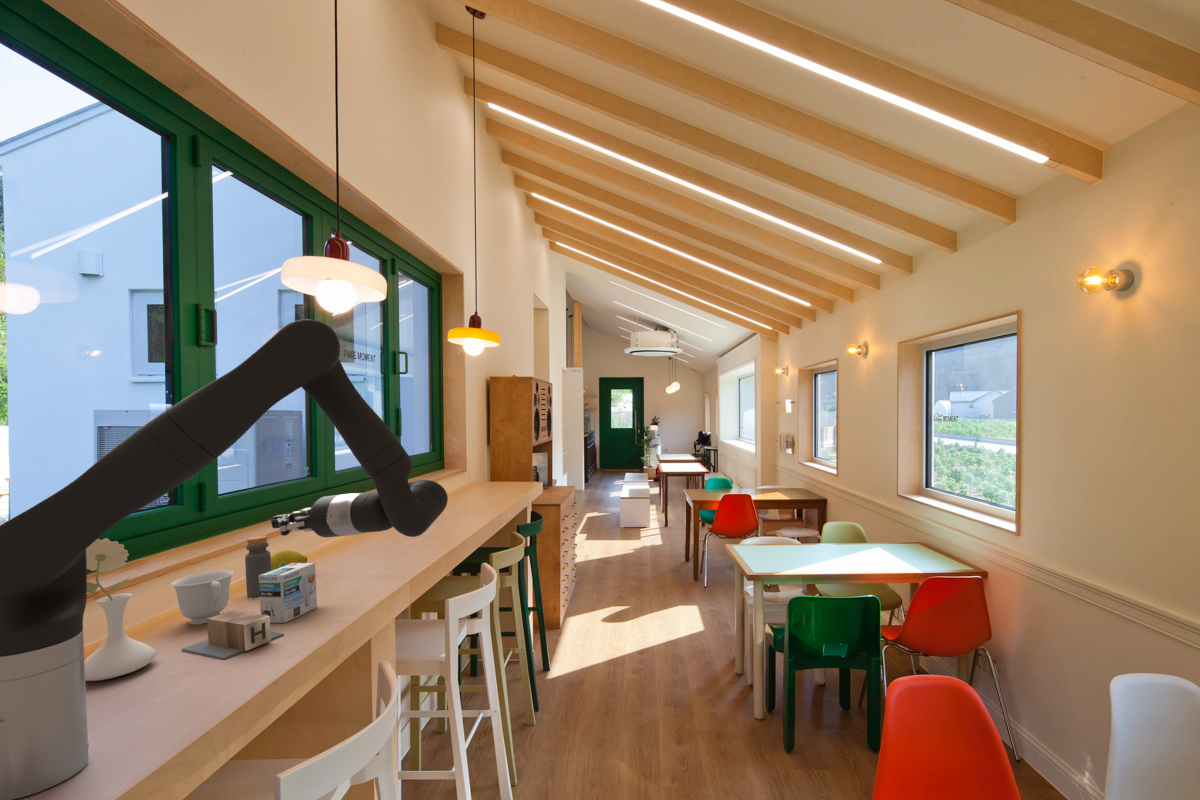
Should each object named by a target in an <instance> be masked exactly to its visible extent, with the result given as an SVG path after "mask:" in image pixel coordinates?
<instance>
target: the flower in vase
mask: <svg viewBox="0 0 1200 800" xmlns="http://www.w3.org/2000/svg"><path fill="white" fill-rule="evenodd" d="M119 543H120V542H119V541H117V540H114V541H112V540H111V541H110V539H109V538H107V537H106V538H103V539H100V538H98V539H97V540H96V541H94V542H93V543H92V544H91V545H90V546H89V547H88V548H86V560H87V570H89V571H92V572H94V571H95V582H96V583H95V582H90V581H89V582H88V581H87V594H93V593H95V592H96V591H97V589H98V588H99V589H100V590H101V591H102V592H103V593H104V594H105V595H106V596H105V597H102V598H99V599H97V600H96V603H97V604H98V605H99V606H100V607H101V609H102V610H103V612H104V613H105V614H104V615H105V618H106V624H107V636H106V639H105V640H104V642H103V643H102V644H101V645H100V646H99V647H98V648H97V649H96V650H95V651H93V653H91V655H89V656H88V657H87V658H86V659H84V662H85V682H87V681H89V682H95V681H104V680H110V679H113V678H116V677H117V678H118V677H120V676H125V675H127V674H131V673H133V672H136V671H137V670H140V669H142V668H143V667H145V666H147V665H148V664H150V663H152V661H154V659H155V658H156V656H157V652H156V650H155V648H154V647H152V646H150V645H149V644H146V643H144V642H141V641H138V640H135V639H133V638H130V637H129V636H128V635H127V634H126V632H125V627H124V615H125V610H126V606H127V603H128V601H129V600H130V598H131V597H132V595H133V594H132V593H129V592H128V593H119V594H114V595H110V593H109V592H112V591H114V590H116V589H118V588H119V587H122V586H123V585H124V584H125V583H126V582H127V581H128V580H129V578H130V577H131V576H128V577H127V578H125V579H123V580H121V581H118V582H117V583H115V584H114V585H113V586H112V587H110V588H109V589H108V591H107V590H106V589H105V588H104V587H103V586H102V585H101V584H100V581H99V572H100V573H104V572H112V571H113V570H117V569H120V567H123V566H125V565H126V564H127V562H126V561H128V557H129V556H130V554H129V550H127V549H125V548H124V547H125V545H124V544H123V543H121V544H119Z"/></svg>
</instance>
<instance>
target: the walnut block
mask: <svg viewBox="0 0 1200 800" xmlns="http://www.w3.org/2000/svg"><path fill="white" fill-rule="evenodd" d="M206 624H207V639H208V644H213V645H218V646H223V647H229V648H234V649H239V650H244V651H245V652H247V651H250V650H251V649H254V648H257V647H259V646H261V645H264V644H266V643H268V642H271V641H272V640H271V623H270V616H267V615H261V613H260V614H258V613H252V612H245V611H239V610H229V611H227V612H223V613H221V614H220V615H217V616H214V617H211V618H208V619H207V623H206Z"/></svg>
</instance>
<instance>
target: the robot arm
mask: <svg viewBox="0 0 1200 800" xmlns="http://www.w3.org/2000/svg"><path fill="white" fill-rule="evenodd" d="M340 355H341V344H340V340H339V338H338V335H337V334H336V332H335V331H334V330H333V328H331V327H330V326H329V324H326V323H324V322H322V321H319V320H317V319H316V320H315V319H305V318H304V319H298V320H294V321H291V322H289V323H287V324H285V325H284V326H282V328H280V330H278V331H277V332H275V334H274V335H273V336H272V337H270V338H269V339H268V340H267V341H266V342H265V343H264V344H263V345H261V347H259V348H258V349H257V350H256V351H254V352H253V353H252V354H250V356H248V357H247V358H246V359H244V361H242V362H241V363H240V364H238V365H237V366H236V367H234V368H233V369H231V370H230V371H228V372H227V373H225V374H223V375H222V376H220V377H218V378H217V379H215V380H213V381H211V382H209V383H207V384H206V385H204V386H203V387H201V388H199V389H198V390H196V391H194V392H192V393H191V394H189V395H188V396H186V397H185V398H183V399H181V400H180V401H178V402H176V403H174V405H172V406H171V407H169V408H167V409H166V410H165V411H163V412H161V413H159V415H157V416H156V417H154V418H153V419H151V420H149V422H147V423H146V424H144V425H143V426H141V427H140V428H139V429H137V430H136V431H135V432H133V433H132V434H131V435H129V436H128V437H127V438H126V439H124V440H123V441H122V442H120V443H119V444H117V446H115V447H114V448H112V449H111V450H110V451H109V452H108V453H106V454H105V455H104V456H102V457H101V458H100V459H99V460H97V461H96V462H95V463H94V464H93V465H91V466H90V467H89V468H88V469H87V470H85V472H83V473H82V474H81V475H79V476H78V477H77V478H76V479H74V480H73V481H71V482H70V483H69V484H67V485H66V486H64V487H63V488H62V489H60V490H58V491H57V492H55V493H54V494H52V495H50V496H48V497H47V498H45V499H43V500H42V501H41V502H38V503H36V504H35V505H34V506H32V507H30V508H29V509H27V510H25V511H23V512H21V513H19V514H18V515H16V516H15V517H12V518H11V519H9V520H7V521H5V522H4V523H2V524H0V800H16V799H20V798H24V797H27V796H30V795H34V794H38V793H40V792H42V791H45V790H48V789H49V788H51V787H54V786H56V785H59V784H60V783H62V782H64V781H66V780H68V779H70V778H72V777H73V776H75V775H76V774H77V773H79V772H80V771H81V770H83V769H84V768H85V766H87V764H88V763H89V759H90V758H89V748H90V747H89V746H90V744H89V734H88V712H87V711H88V710H87V689H86V687H87V686H86V681H85V662H84V661H85V643H84V642H85V641H84V639H85V638H84V615H85V609H86V608H87V607H86V606H87V600H88V599H87V596H88V593H87V582H88V581H87V580H88V579H87V578H88V574H87V573H88V571H87V570H88V569H87V560H86V548H88V547H89V546H90V545H91V544H92V543H93V542H94V541H96V540H97V539H100V537H101V536H103V535H104V534H105V533H107V532H108V531H109V530H110V529H111V528H112V527H114V526H115V525H117V524H118V523H119V522H121V521H123V520H124V519H126V518H127V517H129V516H130V515H132V514H133V513H136V512H137V511H139V510H140V509H142V508H144V507H146V506H147V505H149V504H151V503H153V502H154V501H157V500H158V499H160V498H161V497H163V496H164V495H166V494H168V493H169V492H171V491H172V490H174V489H176V488H177V487H179V486H180V485H181V484H183V483H185V482H186V481H188V480H189V479H191V478H192V477H194V476H195V475H197V474H198V473H199V472H201V471H202V470H204V468H206V467H207V466H208V465H209V464H211V463H212V462H213V461H215V460H216V459H217V458H219V457H220V456H221V455H222V454H223V453H225V452H226V451H227V450H229V449H230V448H231V447H232V446H234V444H235V443H236V442H237V441H238V440H239V439H241V438H242V437H243V436H244V435H245V434H246V433H247V432H248V431H249V429H251V428H252V427H253V426H254V424H255V423H257V422H258V420H259V419H261V418H262V416H264V414H265V413H266V412H268V410H270V409H271V408H272V407H273V406H275V405H276V404H277V403H279V402H281V400H283V399H285V398H286V397H287V396H289V395H291V394H292V393H294V392H295V391H297V390H298V389H300V388H301V389H303V390H304V391H305V392H306V393H307V395H309V396H310V397H311V398H312V400H313V401H315V403H316V404H317V406H319V408H320V409H321V410H322V411H323V412H324V414H325V415H326V417H327V418H328V419H329V421H330V422H331V423H332V424H333V426H334V428H335V429H336V430H337V432H338V433H339V436H341V438H342V439H343V441H344V442H345V445H346V446H347V447H348V448H349V450H350V451H351V453H352V454H353V456H354V457H355V459H356V461H358V463H359V464H360V465H361V468H363V470H364V471H365V472H366V474H367V475H368V476H369V478H370V479H371V480H372V482H373V483H374V485H375V489H376V491H371V492H353V493H344V494H343V493H342V494H335V495H334V494H332V495H325V496H321V497H320V498H318V499H317V500H316V501H315V502H314V503H313V505H312V506H311V507H305V508H302V509H299V510H297V511H293V512H291V513H285V514H277V515H274V516H272V517H271V518H270V523H271V527H272V529H279V532H280V535H281V536H284V537H285V536H287V535H290V533H292V532H293V531H294V532H295V531H296V532H298V531H299V532H300V531H304V532H312V531H313V532H314V533H315V534H316V535H317V536H319V537H321V538H335V537H348V536H356V535H360V534H367V533H379V532H384V531H387V530H390V529H392V528H393V529H395V530H396V531H397V532H398V533H400V534H401V535H403V536H405V537H410V538H415V537H419V536H422V535H423V534H424V533H425V532H426V531H427V530H429V528H430V527H431V525H432V524H434V522H435V521H436V519H438V518H439V517H440V516H441V514H442V513H443V512H444V511H445V509H446V507H447V505H448V499H449V498H448V493H447V491H446V489H445V488H444V486H442V485H441V484H440V483H438V482H436V481H434V480H429V479H418V480H413V481H409V477H410V474H411V472H412V471H413V468H414V463H413V460H412V458H411V456H410V455H409V454H408V452H407V451H406V450H405V448H404V446H403V445H402V443H400V441H399V439H398V438H397V437H396V435H395V434H394V433H393V431H392V430H391V429H390V428H389V426H388V425H387V423H385V422H384V420H383V419H382V418H381V417H380V416H379V415H378V414H377V412H376V411H375V410H374V409H373V408H372V407H371V406H370V405H369V404H368V403H367V402H366V400H365V399H364V398H363V397H362V395H361V394H360V393H359V391H358V390H357V389H356V387H355V386H354V384H353V383H352V381H351V380H350V378H349V376H348V374H347V372H346V370H345V369H344V366H343V364H342V362H341V359H340ZM292 530H293V531H292Z"/></svg>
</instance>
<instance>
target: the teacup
mask: <svg viewBox="0 0 1200 800" xmlns="http://www.w3.org/2000/svg"><path fill="white" fill-rule="evenodd" d="M234 574H235V572H234V571H233V570H231V569H218V570H210V571H204V572H198V573H194V574H190V575H189V574H188V575H186V576H182V577H179V578H177V579H175V580H173V581H172V582H171V584H170V585H171V586H172V587H173V588H174V589H175V594H176V597H177V602H178V607H179V610H180V613H181V615H182V616H184V617H185V618H188V619H190V622H189V623H190V624H191V625H203V623H204V624H207V619H208V618H211V617H214V616H217V615H220V613H221V612H222V611H223V610H224V609H226V607H227V606H228V603H229V599H230V588H231V579H232V576H233V575H234Z"/></svg>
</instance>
